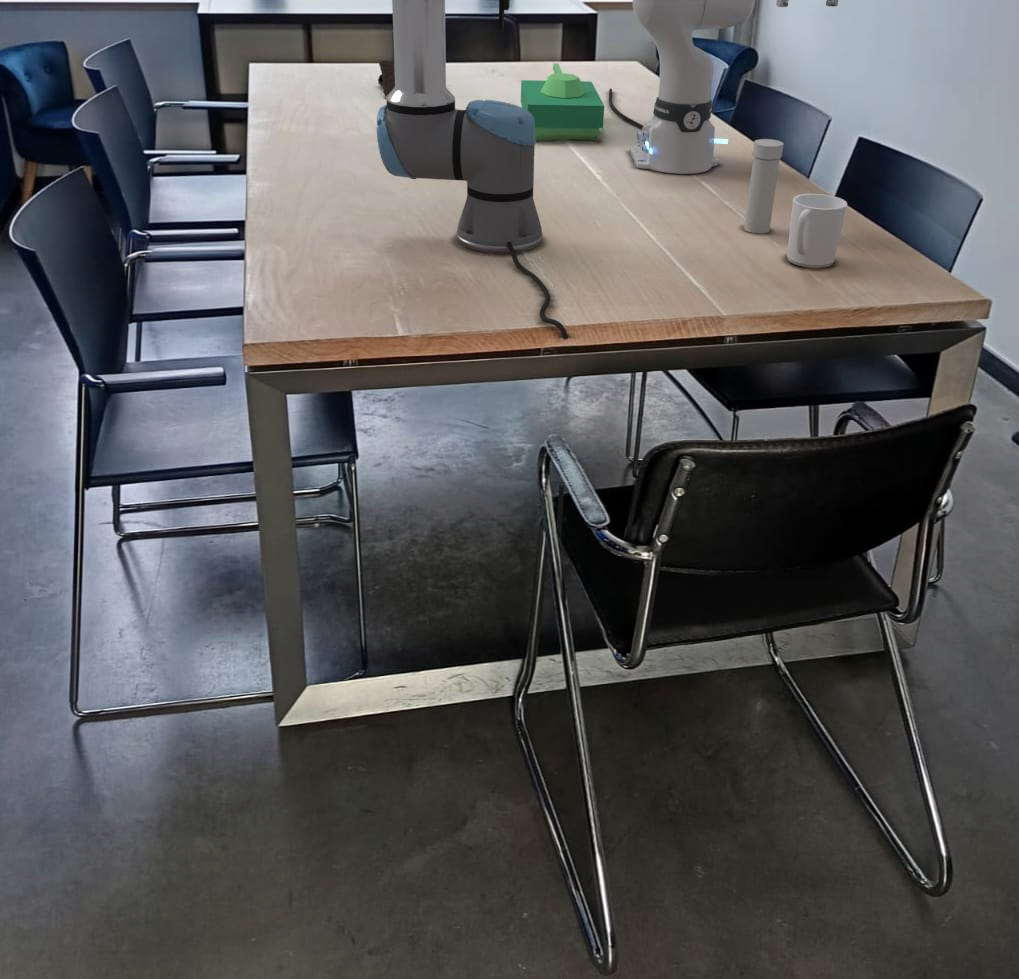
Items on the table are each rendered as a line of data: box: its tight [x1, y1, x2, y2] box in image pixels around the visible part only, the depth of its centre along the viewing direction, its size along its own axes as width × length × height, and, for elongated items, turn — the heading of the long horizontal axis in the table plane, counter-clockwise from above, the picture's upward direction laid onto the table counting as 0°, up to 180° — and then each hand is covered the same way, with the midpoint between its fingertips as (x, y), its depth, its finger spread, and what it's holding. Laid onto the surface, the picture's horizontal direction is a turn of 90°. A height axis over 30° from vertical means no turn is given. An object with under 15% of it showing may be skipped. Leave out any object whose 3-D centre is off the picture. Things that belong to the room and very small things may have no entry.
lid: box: [752, 138, 785, 160], centre depth 196 cm, size 5×5×2 cm
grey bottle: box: [743, 156, 781, 234], centre depth 200 cm, size 5×5×16 cm
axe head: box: [377, 59, 395, 97], centre depth 299 cm, size 18×8×15 cm
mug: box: [786, 193, 848, 269], centre depth 186 cm, size 11×9×10 cm
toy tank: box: [520, 63, 605, 141], centre depth 267 cm, size 18×12×35 cm
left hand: (468, 26), depth 224 cm, fingers open, 13 cm apart
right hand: (806, 6), depth 193 cm, fingers open, 8 cm apart
